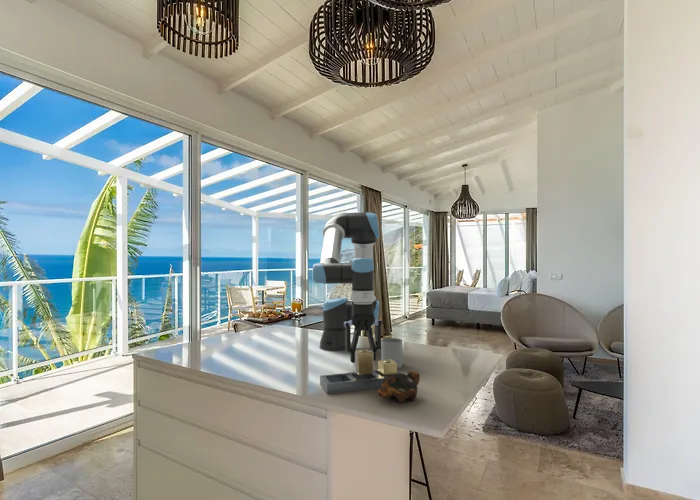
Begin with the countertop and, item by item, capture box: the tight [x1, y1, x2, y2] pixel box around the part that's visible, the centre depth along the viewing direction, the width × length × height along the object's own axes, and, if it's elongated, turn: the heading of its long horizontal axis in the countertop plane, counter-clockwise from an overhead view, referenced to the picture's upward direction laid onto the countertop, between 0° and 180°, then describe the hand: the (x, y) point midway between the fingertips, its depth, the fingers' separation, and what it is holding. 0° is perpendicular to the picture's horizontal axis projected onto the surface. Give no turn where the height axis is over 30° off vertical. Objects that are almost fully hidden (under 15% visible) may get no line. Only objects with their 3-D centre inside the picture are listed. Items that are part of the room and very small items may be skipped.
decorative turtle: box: [377, 370, 421, 404], centre depth 121 cm, size 10×15×8 cm, turn 126°
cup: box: [380, 337, 403, 369], centre depth 158 cm, size 8×8×10 cm
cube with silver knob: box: [356, 348, 374, 375], centre depth 135 cm, size 5×5×7 cm
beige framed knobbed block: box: [377, 359, 398, 377], centre depth 138 cm, size 5×5×7 cm
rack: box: [319, 369, 404, 395], centre depth 135 cm, size 9×28×3 cm, turn 108°
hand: (363, 370), depth 135 cm, fingers closed on cube with silver knob, 5 cm apart
